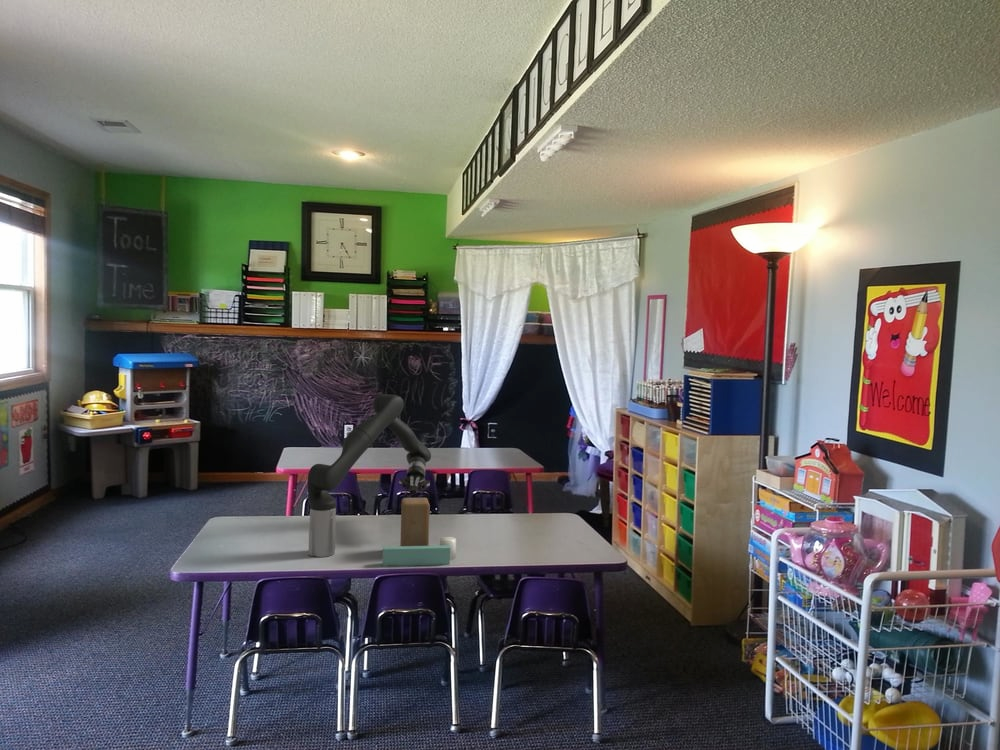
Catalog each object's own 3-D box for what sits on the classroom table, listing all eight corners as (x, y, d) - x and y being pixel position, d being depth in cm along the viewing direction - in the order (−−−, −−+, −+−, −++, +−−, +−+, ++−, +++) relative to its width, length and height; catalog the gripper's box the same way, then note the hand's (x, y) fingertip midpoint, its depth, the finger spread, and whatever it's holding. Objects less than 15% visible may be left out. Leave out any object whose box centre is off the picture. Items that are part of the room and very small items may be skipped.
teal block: (382, 565, 248) (382, 549, 247) (382, 563, 250) (382, 546, 250) (449, 564, 252) (450, 547, 252) (448, 561, 255) (449, 545, 254)
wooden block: (401, 556, 258) (403, 503, 257) (400, 548, 268) (401, 497, 267) (428, 556, 260) (430, 503, 259) (426, 547, 270) (427, 497, 269)
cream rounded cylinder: (440, 560, 256) (440, 541, 255) (438, 555, 262) (439, 536, 261) (456, 560, 257) (457, 541, 256) (454, 554, 263) (455, 536, 262)
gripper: (400, 463, 286) (396, 482, 270) (432, 466, 287) (430, 485, 271) (399, 480, 288) (395, 500, 272) (431, 482, 289) (429, 502, 273)
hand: (412, 492), depth 271 cm, fingers closed
